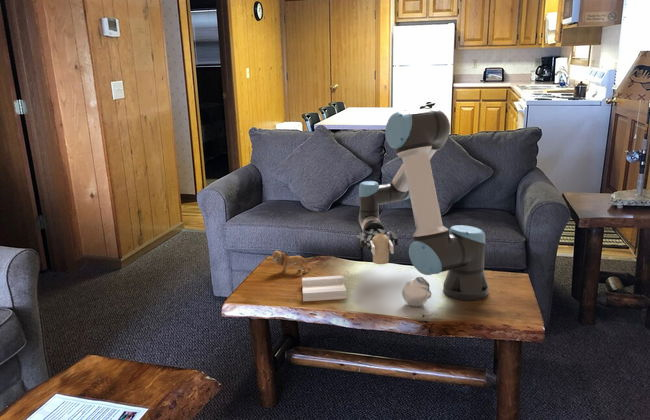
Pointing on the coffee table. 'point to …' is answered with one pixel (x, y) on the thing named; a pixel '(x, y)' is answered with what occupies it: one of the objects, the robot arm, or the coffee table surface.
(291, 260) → the lion figurine
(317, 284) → the tray
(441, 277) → the coffee table surface
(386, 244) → the candle
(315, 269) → the coffee table surface
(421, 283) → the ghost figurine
